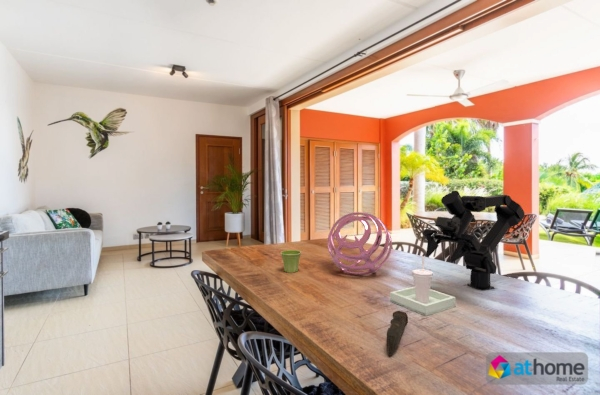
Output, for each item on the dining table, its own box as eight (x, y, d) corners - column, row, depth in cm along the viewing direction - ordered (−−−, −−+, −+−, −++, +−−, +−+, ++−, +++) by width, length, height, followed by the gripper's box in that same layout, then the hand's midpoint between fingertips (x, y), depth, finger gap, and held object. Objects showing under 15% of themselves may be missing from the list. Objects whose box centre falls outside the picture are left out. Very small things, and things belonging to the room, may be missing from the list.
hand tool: (393, 323, 88) (393, 306, 88) (408, 325, 87) (408, 309, 86) (377, 355, 72) (376, 335, 72) (395, 360, 70) (394, 339, 70)
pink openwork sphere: (352, 222, 163) (337, 194, 142) (405, 239, 147) (397, 211, 126) (327, 270, 154) (307, 247, 133) (381, 294, 138) (368, 272, 117)
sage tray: (418, 293, 111) (418, 285, 111) (455, 306, 99) (455, 297, 99) (390, 301, 104) (390, 292, 104) (425, 316, 92) (425, 306, 92)
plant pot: (301, 273, 138) (301, 254, 138) (280, 274, 138) (279, 254, 138) (301, 268, 147) (301, 250, 147) (281, 268, 148) (281, 250, 147)
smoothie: (436, 301, 101) (437, 258, 101) (426, 306, 97) (426, 261, 97) (418, 296, 106) (418, 255, 106) (407, 301, 102) (407, 258, 102)
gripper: (426, 206, 116) (404, 239, 111) (475, 210, 100) (453, 248, 95) (439, 226, 120) (420, 258, 115) (489, 232, 104) (469, 270, 99)
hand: (438, 258), depth 106 cm, fingers open, 9 cm apart
